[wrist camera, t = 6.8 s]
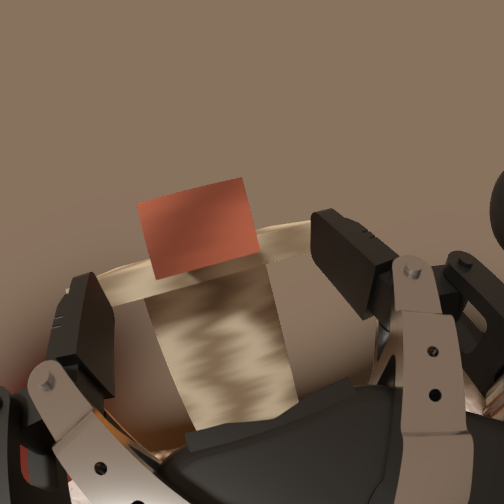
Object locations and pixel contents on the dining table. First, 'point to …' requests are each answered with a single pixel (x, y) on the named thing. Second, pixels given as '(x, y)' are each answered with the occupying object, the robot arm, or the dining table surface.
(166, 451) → the dining table surface
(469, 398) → the dining table surface
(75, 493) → the smoothie
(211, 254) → the lacquered bar
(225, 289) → the beech pedestal
